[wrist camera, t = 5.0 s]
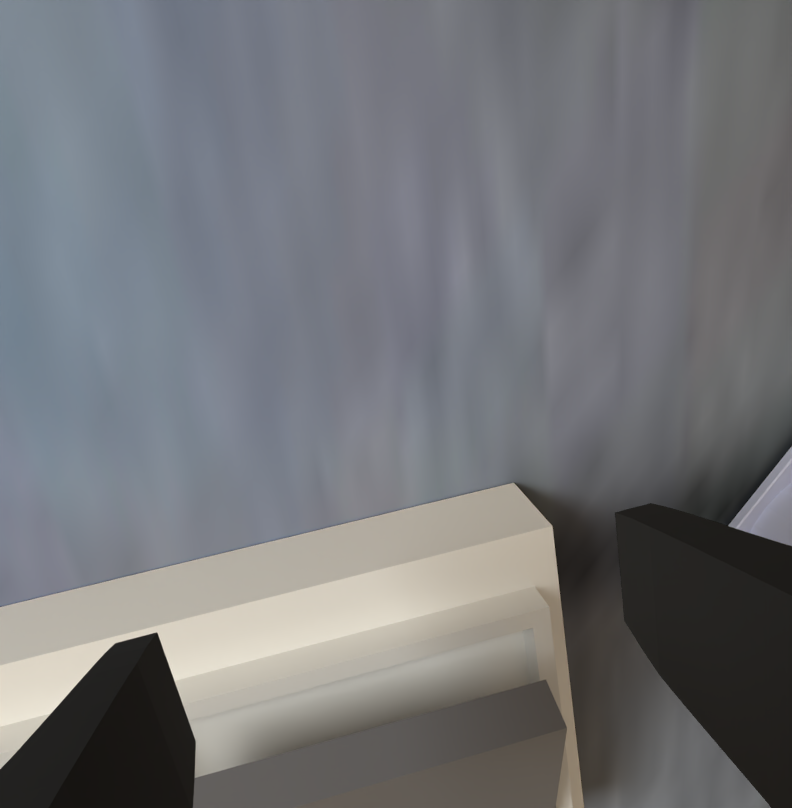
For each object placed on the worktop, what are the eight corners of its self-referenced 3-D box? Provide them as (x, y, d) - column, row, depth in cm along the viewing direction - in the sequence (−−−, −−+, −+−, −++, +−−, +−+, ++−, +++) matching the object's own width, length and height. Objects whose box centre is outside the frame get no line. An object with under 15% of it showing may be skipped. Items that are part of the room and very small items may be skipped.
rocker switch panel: (513, 482, 20) (568, 543, 16) (551, 774, 24) (603, 879, 20) (-368, 696, 17) (-548, 830, 14) (-172, 991, 21) (-271, 1161, 17)
